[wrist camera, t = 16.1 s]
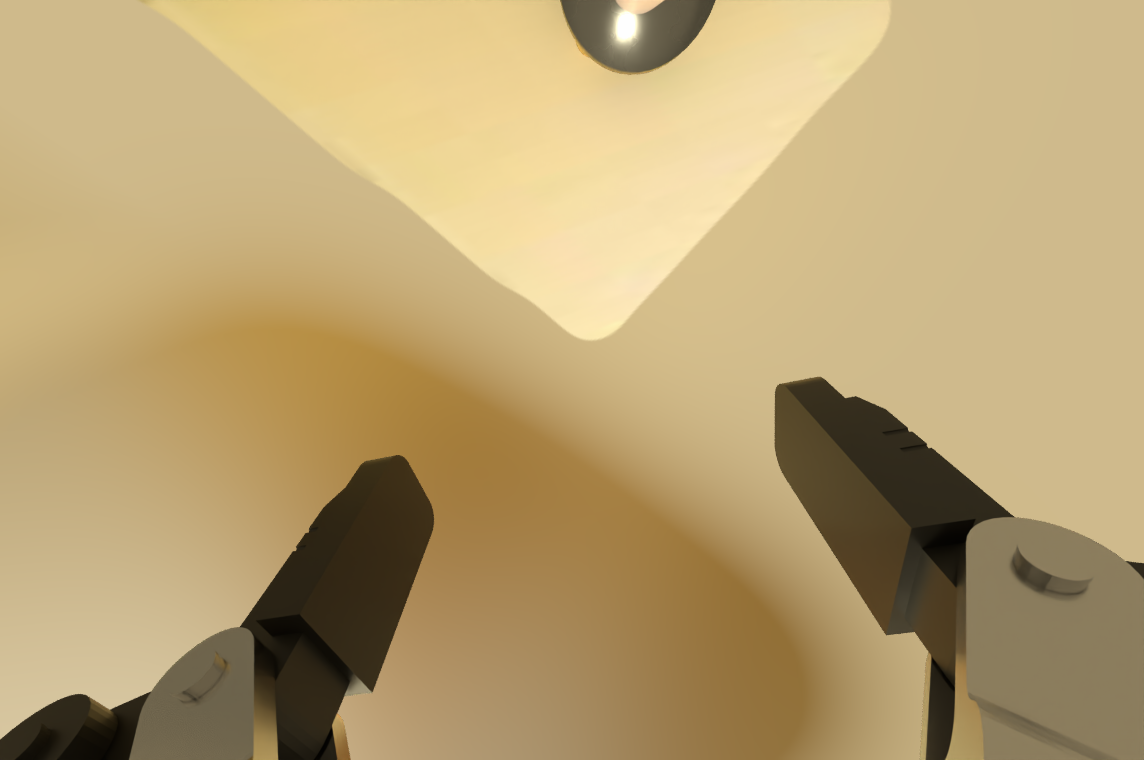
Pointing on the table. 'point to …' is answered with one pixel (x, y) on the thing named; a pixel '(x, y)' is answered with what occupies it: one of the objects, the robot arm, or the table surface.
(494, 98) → the table surface
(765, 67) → the table surface
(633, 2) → the smoothie
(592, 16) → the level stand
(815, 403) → the robot arm
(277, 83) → the table surface
